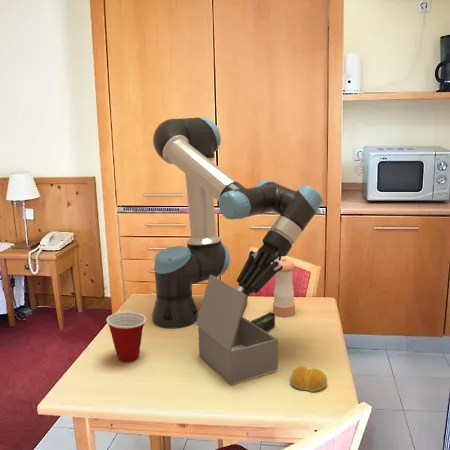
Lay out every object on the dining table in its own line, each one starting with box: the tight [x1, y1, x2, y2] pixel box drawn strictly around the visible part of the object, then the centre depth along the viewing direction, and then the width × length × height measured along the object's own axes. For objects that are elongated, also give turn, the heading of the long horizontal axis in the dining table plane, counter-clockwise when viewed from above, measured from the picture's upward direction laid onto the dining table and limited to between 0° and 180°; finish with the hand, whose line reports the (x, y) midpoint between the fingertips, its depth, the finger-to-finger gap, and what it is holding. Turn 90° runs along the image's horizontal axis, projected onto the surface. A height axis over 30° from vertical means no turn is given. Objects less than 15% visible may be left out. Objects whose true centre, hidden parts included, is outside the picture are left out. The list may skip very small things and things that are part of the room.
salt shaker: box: [272, 257, 296, 318], centre depth 171 cm, size 7×7×19 cm
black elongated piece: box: [249, 311, 276, 333], centre depth 158 cm, size 5×3×15 cm
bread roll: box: [289, 365, 328, 393], centre depth 129 cm, size 8×9×4 cm
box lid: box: [195, 275, 247, 351], centre depth 134 cm, size 19×14×1 cm
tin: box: [234, 283, 249, 316], centre depth 175 cm, size 15×3×8 cm, turn 168°
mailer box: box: [197, 315, 279, 387], centre depth 139 cm, size 18×14×9 cm
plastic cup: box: [106, 311, 147, 363], centre depth 143 cm, size 11×11×12 cm
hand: (230, 309), depth 133 cm, fingers closed
